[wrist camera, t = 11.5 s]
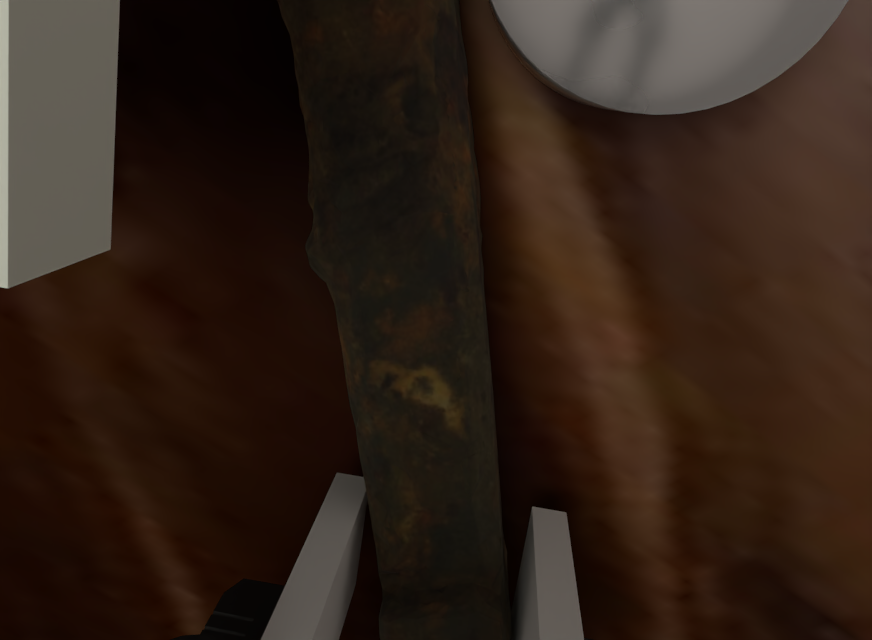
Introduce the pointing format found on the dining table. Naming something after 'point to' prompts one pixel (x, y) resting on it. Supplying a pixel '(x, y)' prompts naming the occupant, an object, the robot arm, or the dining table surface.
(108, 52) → the low shelf
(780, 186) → the dining table surface
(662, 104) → the steel puck
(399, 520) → the hand tool
